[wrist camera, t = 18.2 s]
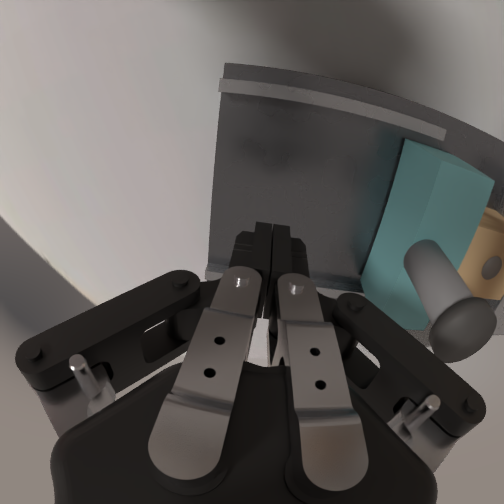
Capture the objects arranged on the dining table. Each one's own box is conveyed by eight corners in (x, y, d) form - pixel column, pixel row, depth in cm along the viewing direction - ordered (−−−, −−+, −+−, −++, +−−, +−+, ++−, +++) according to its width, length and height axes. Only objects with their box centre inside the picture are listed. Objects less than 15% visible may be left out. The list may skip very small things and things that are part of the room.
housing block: (419, 252, 21) (445, 294, 16) (442, 192, 18) (478, 226, 14) (473, 262, 21) (500, 300, 16) (496, 210, 18) (531, 243, 14)
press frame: (210, 270, 25) (192, 327, 20) (228, 64, 16) (205, 57, 11) (481, 305, 25) (506, 349, 19) (543, 166, 16) (588, 196, 11)
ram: (352, 278, 22) (383, 409, 13) (397, 135, 16) (506, 212, 7) (404, 285, 22) (449, 404, 13) (453, 155, 16) (565, 237, 7)
